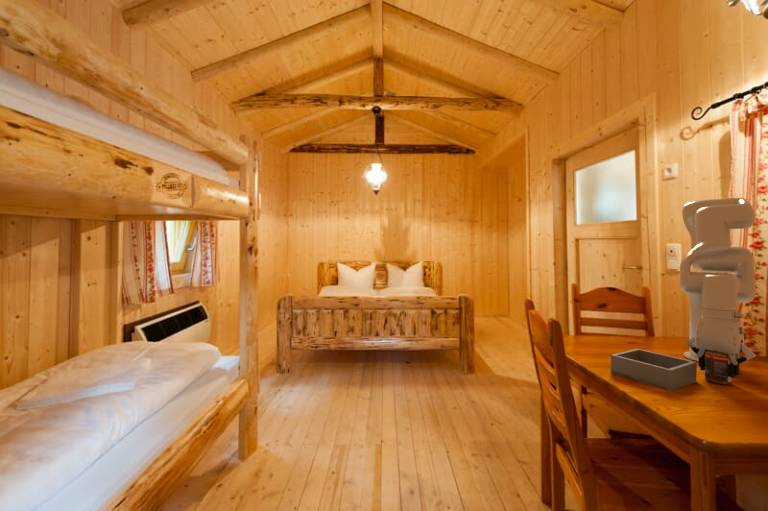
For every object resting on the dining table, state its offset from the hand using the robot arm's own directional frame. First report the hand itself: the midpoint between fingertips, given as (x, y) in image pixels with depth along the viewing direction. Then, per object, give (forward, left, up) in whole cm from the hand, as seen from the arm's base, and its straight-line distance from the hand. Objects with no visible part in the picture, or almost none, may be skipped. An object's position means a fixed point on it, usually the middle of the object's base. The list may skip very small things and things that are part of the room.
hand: (718, 372), depth 101 cm
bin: (+14, -11, -3) cm, 18 cm away
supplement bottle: (0, 0, -3) cm, 3 cm away
